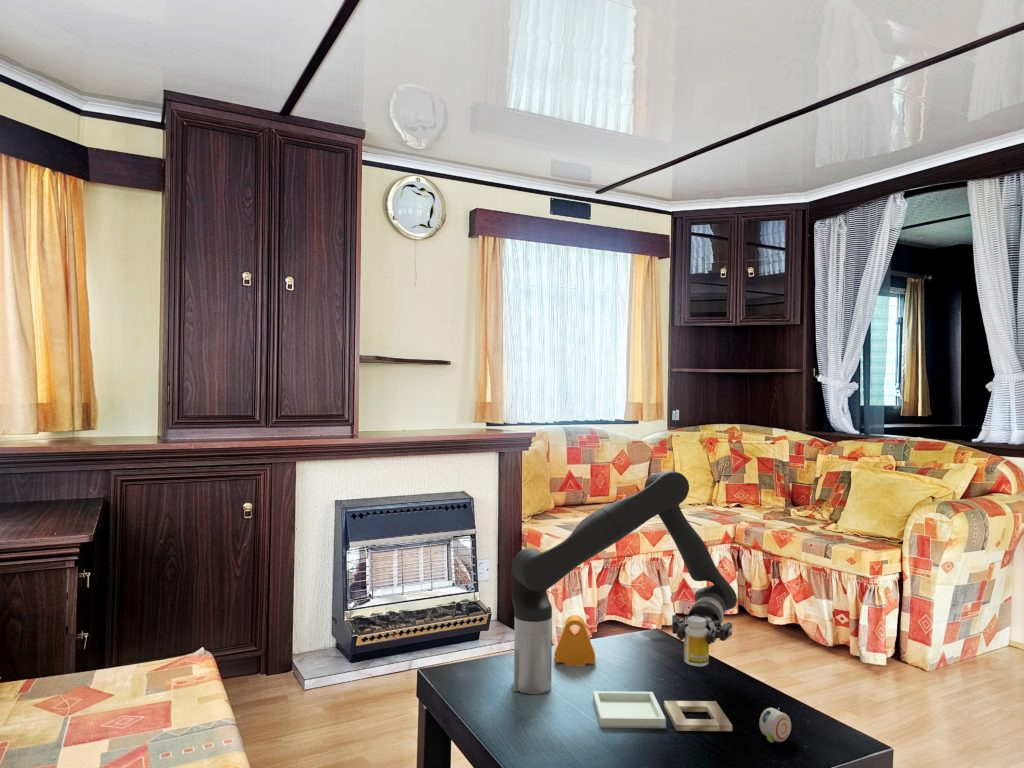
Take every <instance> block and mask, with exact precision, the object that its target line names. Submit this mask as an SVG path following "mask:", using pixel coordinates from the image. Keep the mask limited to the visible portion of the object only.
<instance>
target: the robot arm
mask: <svg viewBox="0 0 1024 768" xmlns="http://www.w3.org/2000/svg"><path fill="white" fill-rule="evenodd" d="M689 491H690V483H689V481H688V479H687V477H686V476H685V475H684V474H682V473H680V472H678V471H674V470H663V471H659V472H654V473H652V474H650V475H649V476H647V478H646V480H645V482H644V488H643V489H642V490H640V491H639V492H636V493H634V494H633V495H629V496H627V497H624V498H621V499H619V500H616V501H614V502H611V503H609V504H606V505H605V506H603V507H601V508H599V509H597V510H595V511H594V512H593V513H591V514H588V516H586V517H585V518H583V519H582V520H581V521H580V522H579V523H578V524H577V526H576V527H575V528H574V530H573V531H572V532H571V534H570V535H569V536H568V537H567V538H566V539H564V540H563V541H561V542H560V543H558V544H556V545H555V546H553V547H551V548H550V549H547V550H545V551H540V550H538V549H536V548H531V547H527V548H523V549H522V550H520V551H518V552H517V554H516V555H515V556H514V559H513V561H512V564H511V575H510V576H511V601H512V605H513V608H514V609H513V610H514V628H513V629H514V633H513V634H514V635H513V636H514V639H513V641H514V642H513V692H518V691H520V692H519V693H523V694H526V693H527V694H528V695H539V694H544V693H547V692H549V691H550V690H551V689H552V679H553V678H552V665H553V664H552V663H553V662H552V659H553V658H552V654H553V651H552V648H553V642H552V641H553V639H552V638H553V632H552V631H553V630H552V629H553V606H552V604H551V602H550V599H549V597H548V594H547V593H548V592H547V590H549V589H550V588H551V587H553V586H554V585H556V584H557V583H558V582H559V581H561V580H562V579H563V578H564V577H565V576H567V575H568V574H569V573H571V572H572V571H573V570H575V569H576V568H577V567H579V566H581V564H583V563H585V562H587V561H588V560H591V559H592V558H594V557H595V556H596V555H598V554H599V553H601V552H603V551H604V550H606V549H608V548H610V547H611V546H613V545H614V544H616V543H617V542H619V541H621V540H622V539H624V538H625V537H627V536H628V535H630V534H631V533H632V532H633V531H635V530H637V529H638V528H640V527H641V526H642V525H643V524H645V523H647V522H648V521H650V520H651V519H652V518H654V517H656V516H659V518H660V519H661V522H662V523H663V524H664V527H665V528H666V529H667V531H668V534H669V535H670V536H671V539H672V540H673V543H674V544H675V546H676V549H678V552H679V554H680V557H681V559H682V561H683V564H684V565H685V567H686V569H687V572H688V574H689V577H690V578H691V579H692V580H693V581H695V582H710V583H711V584H710V585H709V586H708V585H707V586H705V587H702V588H699V589H698V590H696V591H695V592H694V600H695V601H694V603H693V605H692V606H691V609H690V610H689V612H688V614H687V616H685V617H683V618H680V617H678V615H676V614H672V615H671V632H672V634H675V635H676V637H677V638H678V639H679V641H684V630H685V628H686V627H687V626H688V624H687V622H688V617H692V616H697V617H702V618H705V619H706V627H705V628H706V629H707V630H708V631H709V632H708V634H707V644H709V646H710V645H711V644H712V643H715V641H717V639H719V641H721V642H725V641H726V640H727V639H728V638H730V637H731V636H733V635H732V634H733V623H732V622H726V623H723V622H724V616H725V613H726V611H729V610H732V609H734V608H735V607H736V605H737V603H738V597H737V594H736V592H735V590H734V588H733V587H732V586H731V585H730V583H729V582H728V581H727V579H726V578H725V577H724V576H723V574H721V572H720V571H719V569H718V568H717V566H716V565H715V563H714V560H713V558H712V556H711V554H710V552H709V549H708V547H707V545H706V544H705V542H704V541H703V539H702V538H701V536H700V534H699V533H698V532H697V531H696V530H695V529H694V528H693V526H692V525H691V524H690V522H689V521H688V520H687V518H686V517H685V514H683V512H682V509H681V507H680V505H681V504H682V503H683V502H684V501H685V500H686V498H687V497H688V494H689ZM527 694H526V695H527Z"/></svg>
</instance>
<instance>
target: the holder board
mask: <svg viewBox="0 0 1024 768" xmlns="http://www.w3.org/2000/svg"><path fill="white" fill-rule="evenodd" d="M663 707H664V710H665V711H666V713H667V716H669V717H668V718H669V719H670V721H671V723H672V726H673V727H674V729H675V731H677V732H679V731H681V732H682V731H683V732H684V731H685V732H687V731H689V732H691V731H692V732H694V731H695V732H733V724H732V723H731V721H730V720H729V718H728V716H727V715H726V714H725V713H724V711H723V710H722V708H721V706H720V705H719V704H718V702H717V701H716V700H714V701H713V700H710V701H709V700H703V701H702V700H663ZM683 712H687V713H688V712H691V713H696V712H697V713H704V712H705V713H707V714H708V716H709V717H710V719H709V718H706V719H705V718H687V717H685V716H686V715H684V713H683Z"/></svg>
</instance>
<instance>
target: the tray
mask: <svg viewBox="0 0 1024 768" xmlns="http://www.w3.org/2000/svg"><path fill="white" fill-rule="evenodd" d="M592 701H593V704H594V705H593V706H594V708H595V712H596V716H597V721H598V722H599V726H600V728H601V729H602V728H603V729H604V728H605V729H606V728H607V729H667V718H666V716H665V715H664V714H665V713H663V710H662V708H661V706H660V704H659V702H658V700H657V698H656V696H655V694H654V692H653V691H617V690H616V691H614V690H613V691H609V690H608V691H607V690H605V691H602V690H597V691H595V690H593V691H592Z"/></svg>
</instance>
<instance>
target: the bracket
mask: <svg viewBox="0 0 1024 768" xmlns="http://www.w3.org/2000/svg"><path fill="white" fill-rule="evenodd" d="M574 625H575V626H578V627H579V629H577V630H574V629H572V628H571V627H572V626H574ZM595 649H596V648H595V647H594V646H593V645H592V642H591V639H590V637H589V633H588V631H587V628H586V622H585V621H584V619H583V618H582V617H581V616H580V615H578V614H572V615H569V616H568V617H567V619H566V620H565V622H564V627H563V629H562V633H561V636H560V638H559V641H558V643H557V645H555V646H554V662H555V663H564V664H565V665H564V664H563V665H564V666H572V665H580V666H579V667H585V666H586V664H596V653H595V652H596V651H595ZM584 665H585V666H584Z"/></svg>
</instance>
